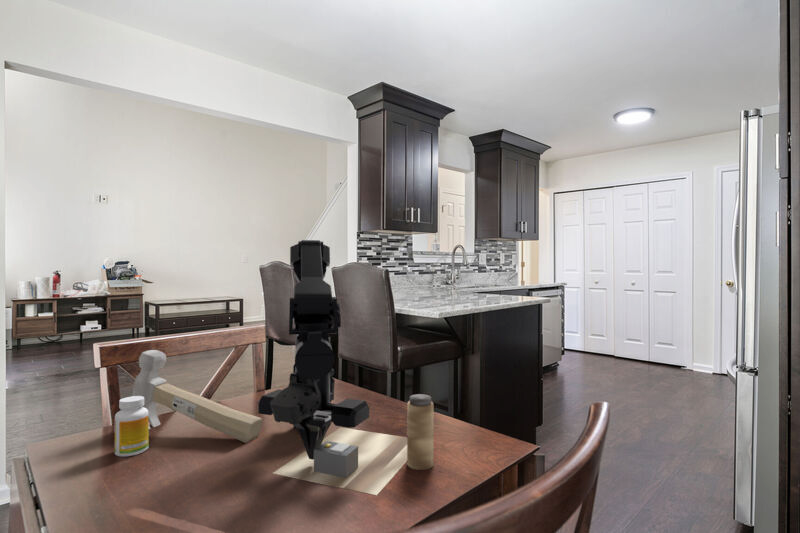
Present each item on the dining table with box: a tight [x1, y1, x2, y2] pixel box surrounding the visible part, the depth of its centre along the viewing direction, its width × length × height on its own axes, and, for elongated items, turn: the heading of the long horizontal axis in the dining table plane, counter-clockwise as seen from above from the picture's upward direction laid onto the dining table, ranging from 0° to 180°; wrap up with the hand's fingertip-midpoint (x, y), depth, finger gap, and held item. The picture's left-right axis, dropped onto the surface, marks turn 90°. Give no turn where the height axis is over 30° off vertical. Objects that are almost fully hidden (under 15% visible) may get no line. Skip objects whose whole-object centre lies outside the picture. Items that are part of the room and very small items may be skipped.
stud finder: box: [314, 441, 358, 478], centre depth 72 cm, size 6×4×4 cm, turn 68°
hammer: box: [131, 349, 263, 444], centre depth 90 cm, size 16×5×30 cm
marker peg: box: [406, 393, 435, 471], centre depth 74 cm, size 4×4×12 cm
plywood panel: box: [272, 426, 407, 496], centre depth 77 cm, size 18×22×1 cm
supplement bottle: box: [114, 395, 150, 458], centre depth 81 cm, size 5×5×10 cm
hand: (312, 458), depth 74 cm, fingers closed
